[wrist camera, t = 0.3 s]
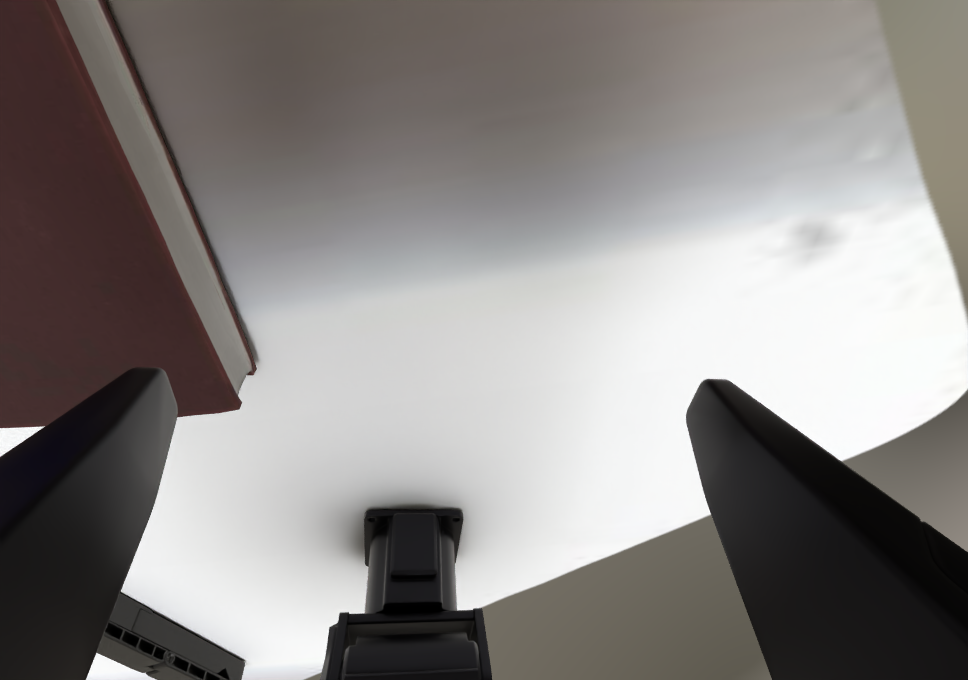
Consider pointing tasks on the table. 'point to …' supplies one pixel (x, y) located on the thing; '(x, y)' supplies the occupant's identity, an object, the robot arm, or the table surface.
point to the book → (97, 230)
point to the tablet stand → (163, 647)
